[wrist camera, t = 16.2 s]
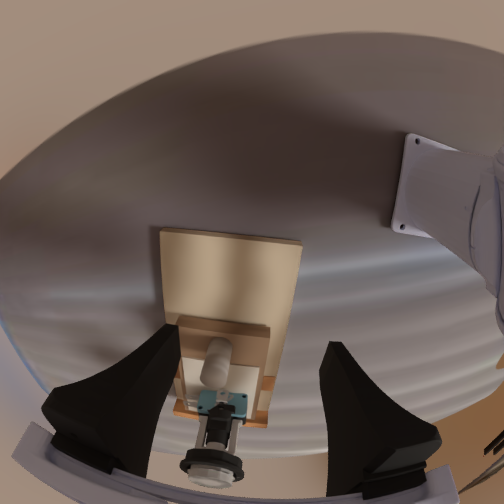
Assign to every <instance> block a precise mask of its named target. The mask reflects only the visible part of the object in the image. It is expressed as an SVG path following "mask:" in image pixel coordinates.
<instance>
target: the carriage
mask: <svg viewBox="0 0 504 504" xmlns="http://www.w3.org/2000/svg"><path fill="white" fill-rule="evenodd" d="M175 325H178V326H179V338H180V348H181V358H180V362H179V371H180V379H181V386H182V392H183V399H184V401H189V402H193V401H194V402H198V401H196V400H190V399H186V397H185V394H188V395H200V393H201V391H202V390H210V391H218V390H219V389H225V390H228V391H229V393H240V394H241V393H243V394H247V395H248V405H247V417H246V419H250V420H255V417H256V412H257V407H258V402H259V397H260V392H261V386H262V381H263V376H264V371H265V365H266V360H267V354H268V348H269V343H270V327H265V326H255V325H246V324H238V323H229V322H221V321H214V320H207V319H200V318H193V317H187V316H180V315H179V317H178V319H177V321H176V323H175ZM188 397H189V398H192V397H191V396H188ZM187 404H188V405H190V404H189V403H187ZM185 410H188V411H193V412H198V411H197V408H194V407H191V406H185Z"/></svg>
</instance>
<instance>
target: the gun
mask: <svg viewBox="0 0 504 504" xmlns="http://www.w3.org/2000/svg"><path fill="white" fill-rule="evenodd" d="M503 438H504V430H503V431H502V432H501V433H500V434H499V436H497V438H495V439H494V440H493V441H492V442H491V443H490V444H489V445H488V446H487V447H486V448H485V449H484V455H486V454H487V453H488V452H490V451H491V450H492V449H493V448H494V447H495V446H496V445H497V444H498V443H499V442H500V441H501V440H502V439H503ZM503 447H504V440H503V441H502V442H501V443H500V444H499V445H497V446H496V447H495V448H494V450H493V454H494V455H495V454H497V453H498V452H499V451H500V450H501V449H502V448H503Z"/></svg>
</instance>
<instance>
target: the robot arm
mask: <svg viewBox="0 0 504 504" xmlns="http://www.w3.org/2000/svg"><path fill="white" fill-rule="evenodd" d="M416 138H417V140H418V144H416V143H415V139H416ZM402 224H403V228H402V229H400V226H401V225H402ZM391 229H392V230H393V231H395V232H398V233H405V234H410V235H416V236H422V237H428V238H433V239H435V240H437V241H438V242H440V243H441V244H442V245H444V246H445V247H446V248H448V249H449V250H450V251H452V252H453V253H454V254H456V255H457V256H458V257H459V258H461V259H462V260H463V261H465V262H466V263H467V264H468V265H470V266H471V267H472V268H473V269H475V270H476V271H477V272H478V273H479V274H481V275H482V276H483V278H484V279H485V281H486V289H487V290H488V291H489V292H490V293H491V294H492V295H494V296H495V297H496V298H497V302H496V312H495V314H496V320H497V324H498V326H499V329H500V330H501V332H502V334H503V335H504V145H503V146H502V147H501V148H500V150H499V151H498V153H497V154H496V155H495V156H494V157H489V156H484V155H479V154H473V153H467V152H461V151H459V150H456V149H454V148H451V147H449V146H446V145H444V144H441V143H439V142H436V141H433V140H430V139H428V138H425V137H422V136H419V135H416V134H413V133H409V134H407V135H406V137H405V145H404V153H403V160H402V167H401V174H400V180H399V185H398V191H397V196H396V202H395V207H394V211H393V216H392V221H391ZM180 358H181V348H180V338H179V326H178V325H173V324H168V323H166V324H165V325H164V326H163V327H162V328H160V329H159V330H158V331H157V332H156V333H155V334H154V335H153V336H152V337H150V338H149V339H148V340H147V341H146V342H145V343H143V344H142V345H141V346H140V347H139V348H137V349H136V350H135V351H133V352H132V353H131V354H129V355H128V356H127V357H125V358H124V359H122V360H121V361H119V362H118V363H116V364H115V365H113V366H111V367H110V368H108V369H106V370H104V371H102V372H100V373H98V374H96V375H94V376H91V377H89V378H86V379H84V380H81V381H78V382H75V383H72V384H68V385H64V386H61V387H56V388H54V389H53V390H52V392H51V393H50V395H49V396H48V398H47V399H46V401H45V402H44V404H43V405H42V407H41V409H42V412H43V414H44V416H45V417H46V419H47V420H48V421H49V423H50V424H51V425H52V426H53V427H54V429H55V430H56V433H55V435H53V434H51V433H50V432H49V431H47V430H46V429H44V428H42V427H41V426H39V425H37V424H36V423H34V422H31V423H30V425H29V426H28V428H27V430H26V431H25V433H24V435H23V436H22V438H21V440H20V441H19V443H18V445H17V447H16V449H15V450H14V452H13V454H12V458H13V459H14V460H15V461H16V462H18V463H19V464H20V465H21V466H22V467H24V468H25V469H26V470H27V471H29V472H30V473H31V474H33V475H34V476H35V477H37V478H38V479H39V480H41V481H42V482H44V483H45V484H47V485H49V486H50V487H52V488H53V489H55V490H57V491H58V492H60V493H62V494H63V495H65V496H67V497H69V498H70V499H72V500H74V501H76V502H78V503H80V504H168V502H167V501H170V502H175V503H178V504H459V502H460V500H459V497H458V493H457V490H456V486H455V483H454V479H453V476H452V473H451V470H450V467H449V465H448V464H447V465H444V466H441V467H439V468H436V469H433V470H431V471H428V472H427V473H425V472H424V468H426V466H427V465H426V461H425V460H427V459H428V458H429V457H430V456H431V455H432V454H433V453H435V452H436V451H437V450H438V449H439V447H440V446H441V444H442V440H441V437H440V434H439V432H438V430H437V427H436V426H434V425H432V424H430V423H428V422H425V421H423V420H421V419H420V418H418V417H416V416H415V415H413V414H411V413H410V412H408V411H407V410H405V409H404V408H402V407H401V406H400V405H398V404H397V403H396V402H394V401H393V400H392V399H391V398H390V397H388V396H387V395H386V394H385V393H384V392H383V391H382V390H381V389H380V388H379V387H378V386H377V385H376V384H375V383H374V382H373V381H372V380H371V379H370V378H369V377H368V375H367V374H366V373H365V372H364V371H363V370H362V368H361V367H360V366H359V365H358V363H357V362H356V361H355V359H354V358H353V357H352V355H351V354H350V353H349V351H348V350H347V349H346V347H345V346H344V345H343V343H342V342H333V341H329V344H328V347H327V350H326V353H325V355H324V358H323V361H322V364H321V367H320V369H319V377H320V390H321V396H322V401H323V407H324V412H325V417H326V423H327V431H328V480H327V492H326V497H322V498H307V499H260V498H245V497H234V496H225V495H218V494H211V493H205V492H199V491H193V490H189V489H184V488H179V487H175V486H171V485H167V484H163V483H159V482H155V481H152V480H149V479H146V475H147V468H148V462H149V456H150V452H151V447H152V442H153V438H154V434H155V430H156V426H157V422H158V419H159V415H160V412H161V409H162V406H163V404H164V402H165V399H166V397H167V395H168V392H169V390H170V387H171V385H172V383H173V380H174V378H175V375H176V373H177V369H178V366H179V362H180ZM165 500H166V501H165Z"/></svg>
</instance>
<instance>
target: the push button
mask: <svg viewBox="0 0 504 504" xmlns="http://www.w3.org/2000/svg"><path fill="white" fill-rule="evenodd" d="M188 396H191V397H192V398H189V397H188ZM185 397H186V399H190V400H196V401H198V402H194V401H193V402H189V401H183V403H184V405H185V406H191V407H194V408H197V411H198V415H199V422H200V427H199V432H198V436H197V440H196V445H195V448H194V449H190V450H188V451H187V453H186V458H185V459H184V460H182V461H181V462H180V468H181V470H183V471H184V472H185V473H187V474H189V475H188V479H189V480H190V481H191V482H193V483H195V484H198V485H200V486H204V487H210V488H219V489H223V488H229V487H231V486H232V482H236V481H240V480H242V479H243V478H244V472H243V470H242V461H241V459H240V458H239V457H237V456H236V448H237V440H238V431H239V427H242V425H245V424H246V417H247V405H248V395H247V394H243V393H241V394H240V393H229V391H228V390H225V389H219V390H218V391H210V390H202V391H201V393H200V395H188V394H185ZM187 403H189V404H190V405H188V404H187ZM231 428H232V429H231ZM230 431H231V436H230ZM206 433H208V434H207V439H206V445H207V446H206V447H204V442H205V438H206ZM229 438H230V443H229V450H228V451H226V450H225V449H226V448H227V444H228V439H229Z"/></svg>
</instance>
